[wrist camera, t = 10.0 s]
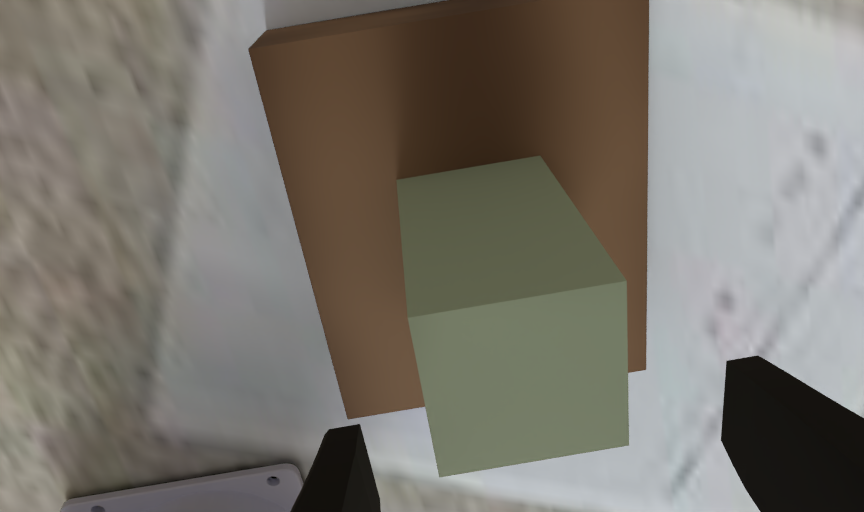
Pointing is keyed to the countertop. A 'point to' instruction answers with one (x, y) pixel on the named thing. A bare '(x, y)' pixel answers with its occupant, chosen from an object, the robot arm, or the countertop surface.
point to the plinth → (449, 148)
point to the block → (512, 318)
